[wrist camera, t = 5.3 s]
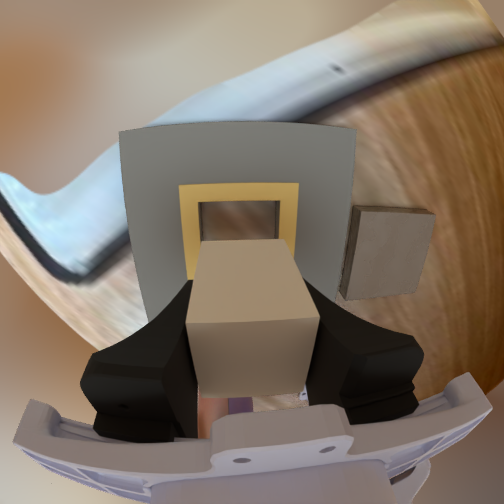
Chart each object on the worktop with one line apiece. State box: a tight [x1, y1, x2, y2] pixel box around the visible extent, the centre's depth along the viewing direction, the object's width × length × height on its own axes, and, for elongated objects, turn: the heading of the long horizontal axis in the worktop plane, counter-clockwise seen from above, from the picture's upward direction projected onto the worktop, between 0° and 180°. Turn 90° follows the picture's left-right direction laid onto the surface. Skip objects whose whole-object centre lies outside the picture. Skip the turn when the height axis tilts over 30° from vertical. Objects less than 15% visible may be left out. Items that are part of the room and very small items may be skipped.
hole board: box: [119, 121, 357, 322], centre depth 20 cm, size 16×16×2 cm
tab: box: [340, 206, 436, 301], centre depth 22 cm, size 8×8×2 cm
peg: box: [186, 239, 320, 398], centre depth 11 cm, size 4×4×6 cm
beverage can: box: [198, 390, 253, 439], centre depth 22 cm, size 6×6×15 cm
